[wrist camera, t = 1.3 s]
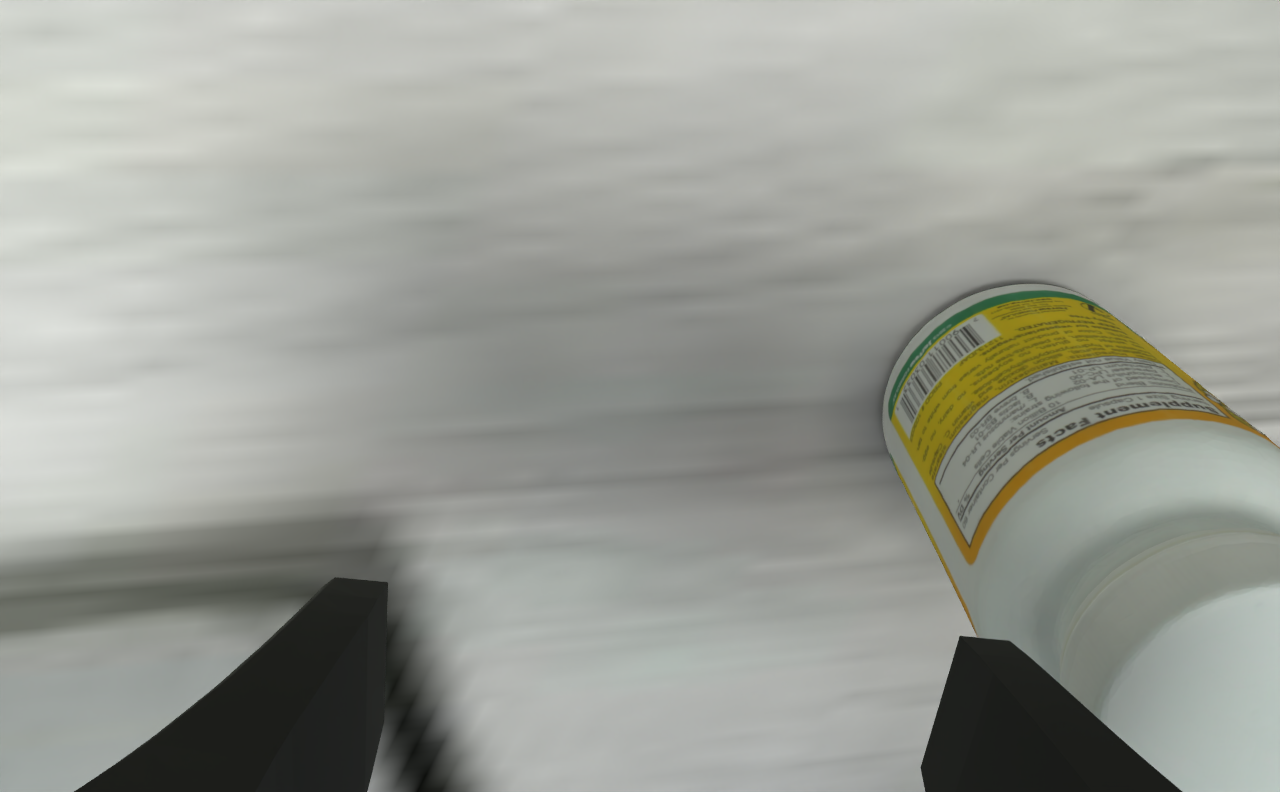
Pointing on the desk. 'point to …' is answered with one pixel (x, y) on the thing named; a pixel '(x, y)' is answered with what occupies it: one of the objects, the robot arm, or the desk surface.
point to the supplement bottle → (1102, 523)
